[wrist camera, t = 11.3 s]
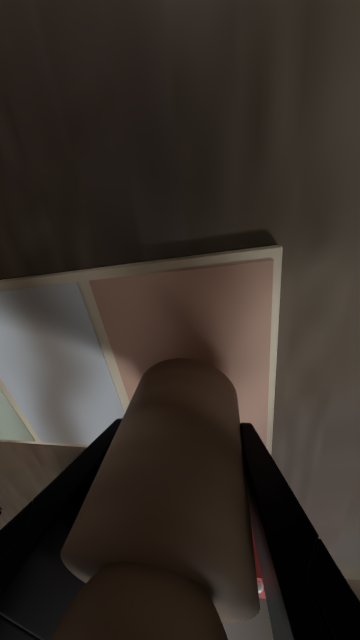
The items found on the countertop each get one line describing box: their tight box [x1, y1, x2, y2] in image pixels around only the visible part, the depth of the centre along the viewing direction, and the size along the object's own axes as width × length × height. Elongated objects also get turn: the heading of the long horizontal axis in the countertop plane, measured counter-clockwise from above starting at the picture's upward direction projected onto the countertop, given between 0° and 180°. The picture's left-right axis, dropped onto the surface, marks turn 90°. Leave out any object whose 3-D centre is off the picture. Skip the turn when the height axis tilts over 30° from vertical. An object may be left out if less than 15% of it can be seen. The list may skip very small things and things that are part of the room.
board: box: [0, 245, 283, 455], centre depth 13 cm, size 24×12×1 cm, turn 98°
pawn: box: [49, 358, 260, 640], centre depth 6 cm, size 4×4×9 cm
